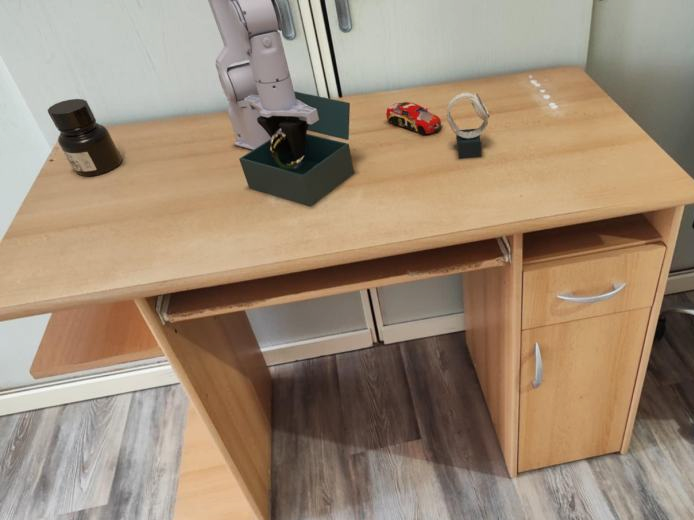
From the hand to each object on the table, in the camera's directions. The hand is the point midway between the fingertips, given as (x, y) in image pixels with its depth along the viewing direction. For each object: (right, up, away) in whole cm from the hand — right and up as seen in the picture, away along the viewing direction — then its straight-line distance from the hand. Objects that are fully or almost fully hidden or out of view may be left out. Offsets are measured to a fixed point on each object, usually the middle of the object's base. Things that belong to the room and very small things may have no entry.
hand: (293, 154), depth 104 cm
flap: (+4, +8, +2) cm, 9 cm away
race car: (+20, +12, +18) cm, 30 cm away
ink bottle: (-42, +2, +12) cm, 44 cm away
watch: (+32, +4, +9) cm, 33 cm away
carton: (+1, -3, +4) cm, 5 cm away
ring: (0, -2, +2) cm, 3 cm away
